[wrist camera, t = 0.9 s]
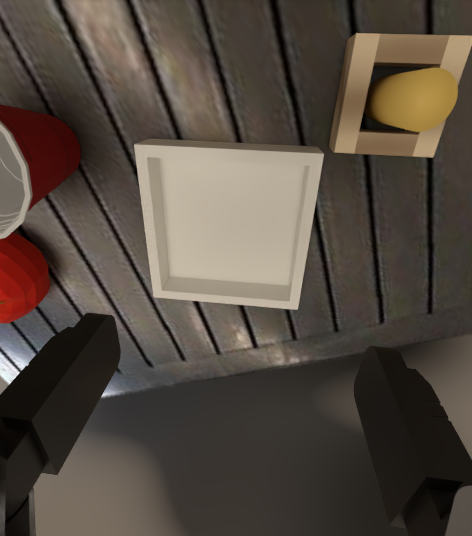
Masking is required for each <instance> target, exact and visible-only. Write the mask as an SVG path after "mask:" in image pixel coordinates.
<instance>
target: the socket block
mask: <svg viewBox="0 0 472 536" xmlns="http://www.w3.org/2000/svg"><path fill="white" fill-rule="evenodd" d="M471 46H472V36H458V35H411V34H365V33H356V34H355V35H353V36H352V37H351V38H349V39H348V40H347V44H346V50H345V55H344V61H343V67H342V73H341V78H340V84H339V90H338V95H337V101H336V107H335V113H334V118H333V124H332V130H331V136H330V141H329V148H330V149H331V150H332V151H333V152H335V153H355V154H375V155H395V156H415V157H433V156H434V154H435V151H436V148H437V145H438V142H439V139H440V136H441V133H442V130H443V127H444V124H445V122H446V119H447V118H446V119H445V120H444V121H443V122H441V123H440V124H439V125H437V126H436V127H434V128H432V129H430V130H427V131H422V132H415V131H410V130H406V129H405V131H396V130H374V129H360V125H361V120H362V116H363V111H364V107H365V102H366V97H367V93H368V88H369V84H370V79H371V74H372V70H373V66H397V67H423V69H428V68H443V69H445V70H447V71H449V72H450V73H451V74H452V75H453V76H454V78H455V80H456V82H457V86H458V84H459V81H460V78H461V75H462V72H463V69H464V66H465V63H466V60H467V57H468V55H469V52H470V49H471Z"/></svg>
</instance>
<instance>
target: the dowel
mask: <svg viewBox="0 0 472 536" xmlns="http://www.w3.org/2000/svg"><path fill="white" fill-rule="evenodd" d="M457 95H458V86H457V82H456V80H455V78H454V76H453V75H452V74H451V73H450V72H449V71H447V70H445V69H443V68H428V69H422V70H416V71H410V72H404V73H398V74H392V75H387V76H383V77H380V78H379V79H377V80H376V81H374V82H373V83H372V84H371V85H370V87H369V88H368V93H367V97H366V102H365V107H364V111H365V114H366V115H367V117H368V118H369V119H371V120H373V121H375V122H379V123H383V124H387V125H391V126H395V127H399V128H402V129H406V130H410V131H415V132H422V131H427V130H430V129H432V128H434V127H436V126H437V125H439V124H440V123H441V122H443V121H444V120H445V119H446V118H447V116H448V115H449V114H450V112H451V111H452V109H453V107H454V105H455V103H456V100H457Z"/></svg>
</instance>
